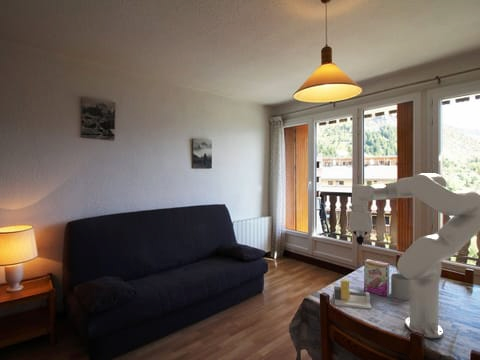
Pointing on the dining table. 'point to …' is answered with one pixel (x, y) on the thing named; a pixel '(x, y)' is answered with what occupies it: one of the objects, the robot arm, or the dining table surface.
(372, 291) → the candy bar box
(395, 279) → the cup
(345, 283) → the yellow tall block
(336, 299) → the shallow white tray
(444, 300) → the dining table surface
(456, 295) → the dining table surface
